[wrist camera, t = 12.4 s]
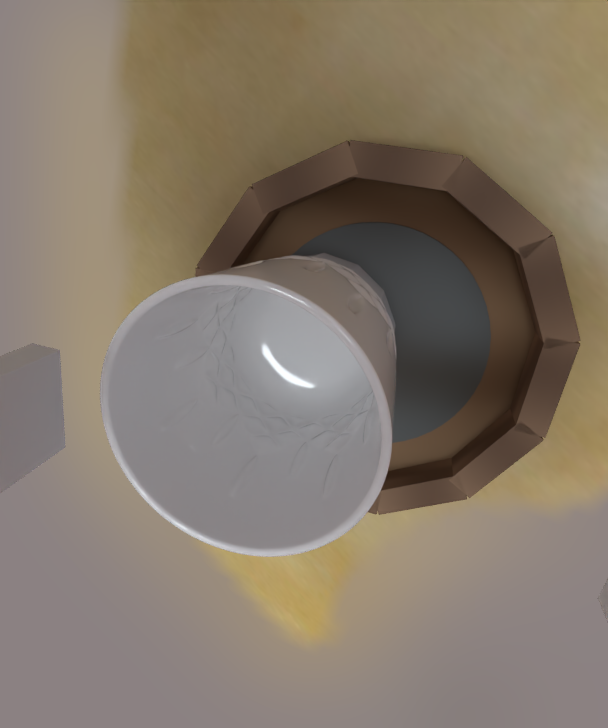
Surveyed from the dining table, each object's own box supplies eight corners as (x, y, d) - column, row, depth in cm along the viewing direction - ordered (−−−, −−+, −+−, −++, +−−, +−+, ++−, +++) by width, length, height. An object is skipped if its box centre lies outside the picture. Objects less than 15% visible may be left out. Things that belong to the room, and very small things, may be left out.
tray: (230, 126, 21) (202, 116, 18) (615, 179, 18) (645, 177, 16) (206, 436, 27) (182, 462, 24) (497, 513, 24) (505, 551, 21)
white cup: (219, 374, 23) (83, 490, 14) (259, 212, 20) (119, 228, 11) (372, 434, 23) (332, 600, 13) (438, 274, 19) (445, 345, 10)
